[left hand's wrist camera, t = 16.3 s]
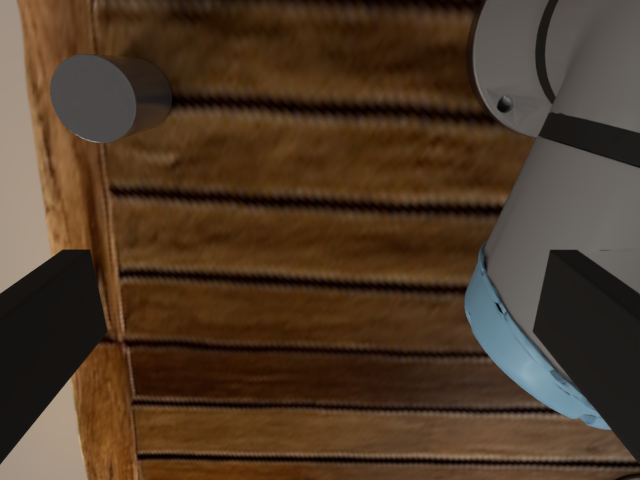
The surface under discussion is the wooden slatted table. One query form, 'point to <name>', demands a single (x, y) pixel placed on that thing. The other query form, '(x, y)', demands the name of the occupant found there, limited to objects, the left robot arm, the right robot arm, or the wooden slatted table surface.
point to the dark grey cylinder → (109, 96)
